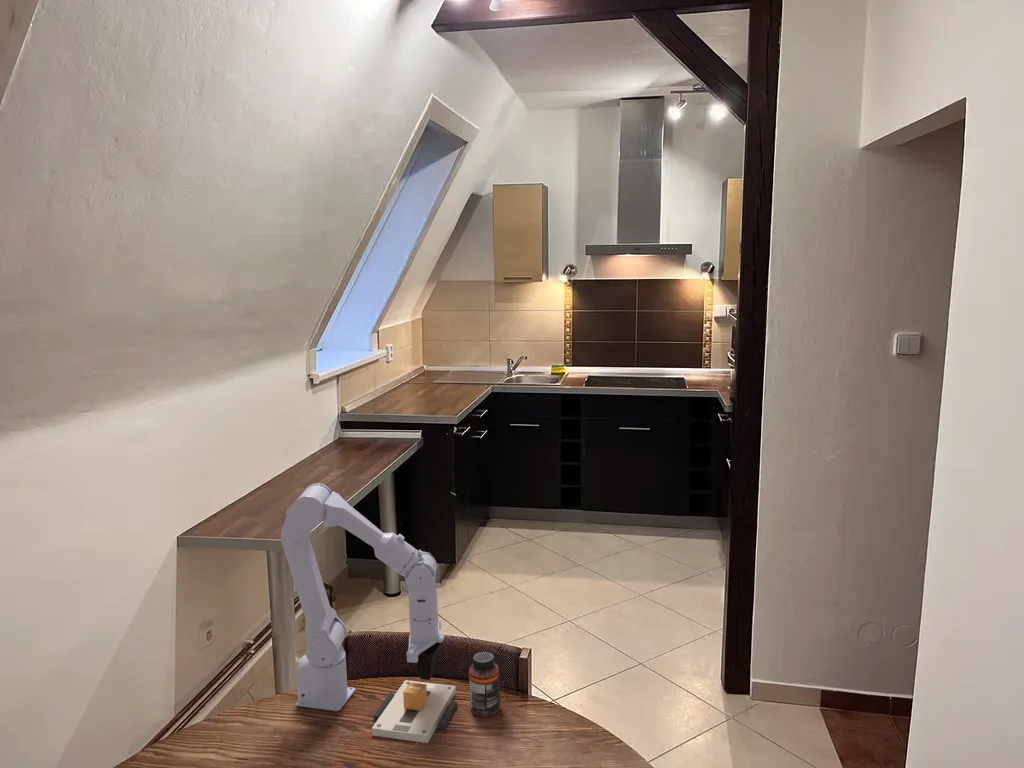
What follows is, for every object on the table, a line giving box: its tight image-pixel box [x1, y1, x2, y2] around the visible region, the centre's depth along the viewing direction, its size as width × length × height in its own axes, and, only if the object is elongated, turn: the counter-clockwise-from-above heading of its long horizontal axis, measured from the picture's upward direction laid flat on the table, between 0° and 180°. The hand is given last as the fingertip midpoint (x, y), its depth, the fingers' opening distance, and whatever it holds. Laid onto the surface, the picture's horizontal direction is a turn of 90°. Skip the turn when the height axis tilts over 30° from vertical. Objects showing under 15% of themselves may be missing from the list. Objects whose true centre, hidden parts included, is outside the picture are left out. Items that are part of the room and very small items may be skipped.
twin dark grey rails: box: [372, 692, 458, 731], centre depth 149 cm, size 14×8×1 cm, turn 77°
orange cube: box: [403, 682, 427, 711], centre depth 148 cm, size 4×4×4 cm
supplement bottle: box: [468, 651, 501, 718], centre depth 149 cm, size 6×6×11 cm
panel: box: [371, 679, 457, 744], centre depth 149 cm, size 11×17×2 cm, turn 166°
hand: (426, 677), depth 154 cm, fingers closed
